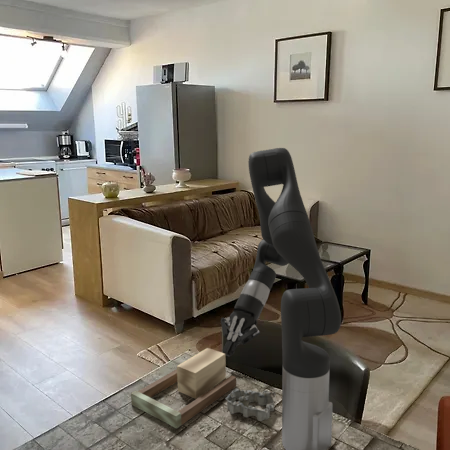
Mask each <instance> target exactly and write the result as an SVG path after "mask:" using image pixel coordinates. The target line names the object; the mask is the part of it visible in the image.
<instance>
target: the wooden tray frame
mask: <svg viewBox="0 0 450 450" xmlns="http://www.w3.org/2000/svg"><path fill="white" fill-rule="evenodd" d="M176 383H178V382H177V368H176V369H174V370H172V371H170V372H169V373H168V374H166V375H164V376H162V377H161V378H158V379H156V380H155V381H153V382H152V383H150V384H148V385H146V386H145V387H142V388H141V389H139V390H134V391H132V392H131V393H130V401H131V405H132V406H134V407H135V408H137V409H139V410H141V411H142V412H145V413H147V414H148V415H150V416H152V417H154V418H156V419H158V420H159V421H161V422H163V423H165V424H167V425H170V427H173V428H175V429H179V428H180V427H181V426H183V425H184V424H185V423H187V422H188V421H189V420H190V419H192V418H193V417H196V416H197V415H198V414H199V413H201V412H203V411H204V410H205V409H207V408H208V407H209V406H211V405H212V404H214V403H215V402H216V401H218V400H219V399H221V398H222V397H224V395H225V396H226V394H227V393H229V392H230V391H232V390H234V389H235V388H237V377H236V376H234V375H230V376H228V377H226V378H225V379H224V380H222V381H221V382H220V383H218V384H217V385H215V386H214V387H212V388H211V389H210V390H208V391H207V392H205V393H204V394H203V395H201V396H200V397H198V398H197V399H194V400H193V401H191V402H190V403H188V404H187V405H185V406H184V407H182V408H181V409H179V410H176V409H173V408H172V407H170V406H168V405H166V404H164V403H162V402H159V401H158V400H156V399H154V398H153V397H155V396H156V395H157V394H159V393H161V392H163V391H165V390H166V389H168V388H169V387H171V386H173V385H174V384H176Z"/></svg>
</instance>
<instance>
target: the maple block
mask: <svg viewBox="0 0 450 450" xmlns="http://www.w3.org/2000/svg"><path fill="white" fill-rule="evenodd" d="M226 361H227V360H226V355H225V354H224V353H223V352H222V351H219V350H216V349H213V348H210V347H206V348H205V349H203V350H201V351H199V352H197V353H196V354H195V355H193V356H191V357H189V358H188V359H186V360H185V361H183V362H181V363H179V364H178V365H176V369H177V382H176V383H177V392H178V393H181V394H184V395H186V396H188V397H190V398H193V399H194V400H196V399H197V398H199V397H200V396H202V395H203V394H205V393H206V392H208V391H209V390H210V389H212V388H213V387H215V386H216V385H218V384H219V383H221V382H222V381H224V380H225V379H227V376H226V375H227V373H226V371H227V370H226V365H227V364H226Z"/></svg>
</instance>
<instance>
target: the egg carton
mask: <svg viewBox="0 0 450 450" xmlns="http://www.w3.org/2000/svg"><path fill="white" fill-rule="evenodd" d="M275 398H276V392H275V391H273V390H263V391H260V390H257V391H256V390H251V389H240V388H237V387H235V388H234V389H232V390H231V392H230V393H228V394H227V396H226V397H225V398H224V399H225V400H226V409H227V410H228V411H229V414H231V415H233V414H236V413H241V414H242V417H244V418H249V417H251V416H252V417H256V418H257V421H261V422H263V420H269V419H270V417H271V416H270V413H271V412H274V411H275V400H274V399H275ZM237 400H238V401H237ZM253 402H257V405H259V406H265V407H266V408H263V409H262V408H261V407H256V406H253V405H250V403H253Z"/></svg>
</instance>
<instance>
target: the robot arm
mask: <svg viewBox="0 0 450 450" xmlns="http://www.w3.org/2000/svg"><path fill="white" fill-rule="evenodd" d="M247 162H248V172H249V177H250V179H249V180H250V182H251V188H252V192H253V197H254V200H255V204H256V209H257V210H258V216H259V222H260V223H259V224H260V233H261V238H262V239H261V240H260V242H259V243H258V245H257V250H256V258H255V263H254V266H253V269H252V271H251V274H250V275H249V277H248V280H247V281H246V283H245V285H244V286H243V288H242V291H241V292H240V294H239V296H238V299H237V300H236V303H235V305H234V308H233V311H232V312H231V313H230V315H229V316H228V317H226V318H225V317H221V318H220V324H221V328H222V329H221V330H222V336H223V337H224V338H225V339H226V342H225V344H224V346H223V349H222V353H224V354H225V357H226V356H227V357H230V358H231V357H232V356H233V355H234V354H235V351H236V349H237V347H238V346H239V345H244V346H245V345H246V344H247V343H249V342H250V341H252V340H253V339H255V338H256V337H258V336H260V335H261V331H260V330H259V329H258V327H257V324H258V319H259V318H260V316H261V314H262V311H263V310H264V307H265V305H266V303H267V301H268V298H269V295H270V291H271V289H272V288H273V285H274V282H275V281H276V278H277V273H276V271H275V270H274V269H272V267H270V266H268V265H267V264H266V262H268V263H270V264H273V265H274V264H275V265H276V266H281V267H282V266H283V267H285V266H286V265H288V264H289V265H290V266H291V267H292V268H294V269H295V270H296V272H298V274H300V275H301V276H302V278H303V279H304V281H305V282H306V284H307V286H308V288H307V287H306V288H305V287H304V288H291V289H287V290H285V291H284V292H283V294H282V296H281V299H280V319H281V320H280V321H281V349H282V351H281V353H282V378H281V381H282V386H281V387H282V390H281V391H282V393H281V396H282V397H281V402H282V403H281V407H282V408H281V410H282V411H281V444H282V446H283V448H284V449H285V450H328V449H329V448H330V447H331V446H332V435H333V434H332V433H333V406H334V405H333V402H332V401H330V400H329V399H330V398H329V397H330V396H329V394H330V368H331V366H330V365H331V359H330V355H329V353H328V351H326V350H325V349H324V348H322V347H321V346H318V345H316V344H314V343H309V342H307V341H303V340H302V338H308V337H321V336H331V335H334V334H336V333H338V332H339V331H340V329H341V325H342V313H341V309H340V304H339V300H338V298H337V294H336V292H335V289H334V288H333V284H332V282H331V279H330V277H329V275H328V273H327V270H326V268H325V266H324V263H323V260H322V259H321V254H320V252H319V248H318V246H317V241H316V239H315V234H314V230H313V228H312V224H311V222H310V218H309V214H308V212H307V209H306V207H305V205H304V204H305V203H304V201H303V198H302V195H301V192H300V188H299V184H298V180H297V175H296V174H297V173H296V170H295V166H294V162H293V158H292V155H291V153H290V152H289V150H288V149H287V148H285V147H276V148H272V149H271V148H269V149H264V150H258V151H254V152H252V153H250V154H249V155H248V161H247ZM279 185H282V189H281V192H280V195H279V196H278V198H277V200H276V201H274V199H273V198H271V197H270V196H269V194H268V193H267V192H266V190H265V188H266V187H273V186H274V187H275V186H279Z"/></svg>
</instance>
